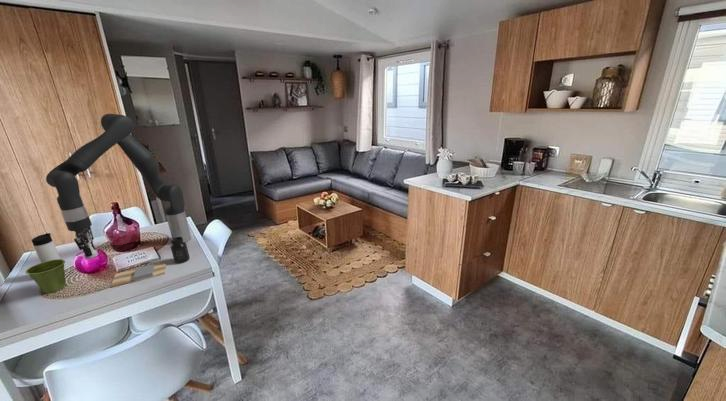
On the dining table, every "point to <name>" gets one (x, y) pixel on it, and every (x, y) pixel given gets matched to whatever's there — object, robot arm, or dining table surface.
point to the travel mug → (45, 248)
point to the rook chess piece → (94, 253)
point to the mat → (128, 275)
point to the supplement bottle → (179, 250)
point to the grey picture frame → (143, 272)
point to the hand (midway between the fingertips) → (90, 253)
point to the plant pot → (49, 275)
